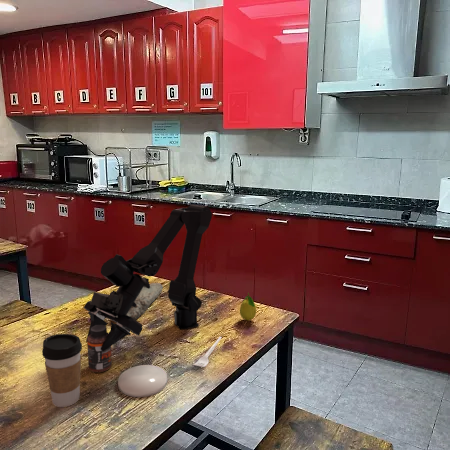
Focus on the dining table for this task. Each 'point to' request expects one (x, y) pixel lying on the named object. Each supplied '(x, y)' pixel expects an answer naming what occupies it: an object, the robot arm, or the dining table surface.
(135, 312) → the elongated rock
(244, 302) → the lemon
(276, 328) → the dining table surface
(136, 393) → the beige flattened disc
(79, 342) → the coffee cup
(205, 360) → the fork
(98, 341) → the supplement bottle
